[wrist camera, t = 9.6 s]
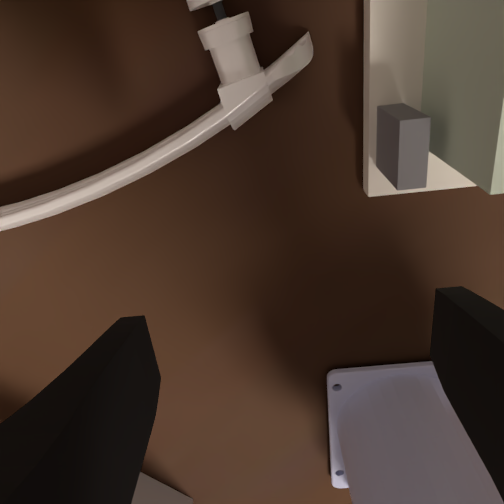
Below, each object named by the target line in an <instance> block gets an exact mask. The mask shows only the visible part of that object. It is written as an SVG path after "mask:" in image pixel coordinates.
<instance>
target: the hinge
mask: <svg viewBox="0 0 504 504" xmlns="http://www.w3.org/2000/svg"><path fill="white" fill-rule="evenodd" d="M131 504H193V499H192V498H190V497H188V496H186V495H184V494H182V493H180V492H178V491H176V490H174V489H172V488H170V487H169V486H167V485H165V484H163V483H161V482H159V481H157V480H155V479H153V478H151V477H149V476H147V475H146V474H144V473H142V472H140V474H139V478H138V481H137V485H136V488H135V492H134V496H133V499H132V503H131Z"/></svg>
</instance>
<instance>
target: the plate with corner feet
mask: <svg viewBox="0 0 504 504" xmlns="http://www.w3.org/2000/svg"><path fill="white" fill-rule="evenodd" d="M427 1H428V0H364V82H363V190H364V191H365V193H366V194H367V196H368V197H373V196H383V195H393V194H403V193H413V192H422V191H432V190H442V189H452V188H461V187H471V186H477V185H476V184H474V183H473V182H472V181H470V180H469V179H467V178H466V177H465V176H463V175H462V174H460V173H459V172H458V171H456V170H455V169H453V168H452V167H451V166H449V165H448V164H446V163H445V162H443V161H442V160H441V159H439V158H438V157H436V156H435V155H434V154H432V153H431V152H429V140H430V126H431V117H429V116H427V115H426V114H424V113H422V112H421V101H422V84H423V67H424V51H425V34H426V17H427Z"/></svg>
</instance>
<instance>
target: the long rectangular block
mask: <svg viewBox="0 0 504 504" xmlns="http://www.w3.org/2000/svg"><path fill="white" fill-rule="evenodd" d="M421 112H422V113H424V114H426V115H427V116H429V117H431V126H430V140H429V152H431V153H432V154H434V155H435V156H436V157H438V158H439V159H441V160H442V161H443V162H445V163H446V164H448V165H449V166H451V167H452V168H453V169H455V170H456V171H458V172H459V173H460V174H462V175H463V176H465V177H466V178H467V179H469V180H470V181H472V182H473V183H474V184H476V185H477V186H479V187H480V188H482V189H483V190H484V191H486V192H487V193H489V194H490V195H491V194H501V193H504V0H428V1H427V17H426V34H425V51H424V67H423V84H422V101H421Z"/></svg>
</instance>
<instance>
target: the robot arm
mask: <svg viewBox="0 0 504 504" xmlns="http://www.w3.org/2000/svg"><path fill="white" fill-rule="evenodd" d="M430 357H431V359H432V361H426V362H415V363H403V364H391V365H379V366H367V367H355V368H343V369H334V370H331V371H330V372H329V373H328V374H327V396H328V419H329V442H330V465H331V481H332V485H333V486H334V487H336V488H349V490H350V495H351V500H352V504H504V310H503V309H501V308H500V307H498V306H496V305H494V304H493V303H491V302H489V301H488V300H486V299H484V298H482V297H481V296H479V295H477V294H475V293H474V292H472V291H470V290H468V289H466V288H464V287H462V286H459V287H449V288H438V289H436V292H435V303H434V315H433V326H432V337H431V348H430ZM160 381H161V376H160V372H159V369H158V365H157V361H156V357H155V353H154V350H153V346H152V342H151V338H150V334H149V331H148V327H147V323H146V319H145V316H133V317H122V318H120V319H119V320H117V321H116V322H115V323H114V324H113V325H112V326H111V327H110V328H109V329H108V330H107V331H106V332H105V333H104V334H102V335H101V336H100V337H99V338H98V339H97V340H96V341H95V342H94V343H93V344H92V345H91V346H90V347H89V348H88V349H87V350H86V351H85V352H84V353H83V354H82V355H81V356H80V357H79V358H78V359H76V360H75V361H74V362H73V363H72V364H71V365H70V366H69V367H68V368H67V369H66V370H65V371H64V372H63V373H61V374H60V375H59V376H58V377H57V378H56V379H55V380H53V381H52V382H51V383H50V384H49V385H48V386H47V387H45V388H44V389H43V390H42V391H41V392H40V393H38V394H37V395H36V396H35V397H34V398H33V399H32V400H30V401H29V402H28V403H27V404H25V405H24V406H23V407H22V408H20V409H19V410H18V411H17V412H15V413H14V414H13V415H11V416H10V417H9V418H7V419H6V420H5V421H3V422H2V423H1V424H0V504H131V503H132V499H133V496H134V492H135V488H136V485H137V481H138V478H139V474H140V471H141V467H142V463H143V460H144V456H145V453H146V449H147V446H148V442H149V438H150V435H151V431H152V427H153V424H154V420H155V416H156V410H157V404H158V397H159V389H160ZM335 384H340V385H338V386H334V385H335Z"/></svg>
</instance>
